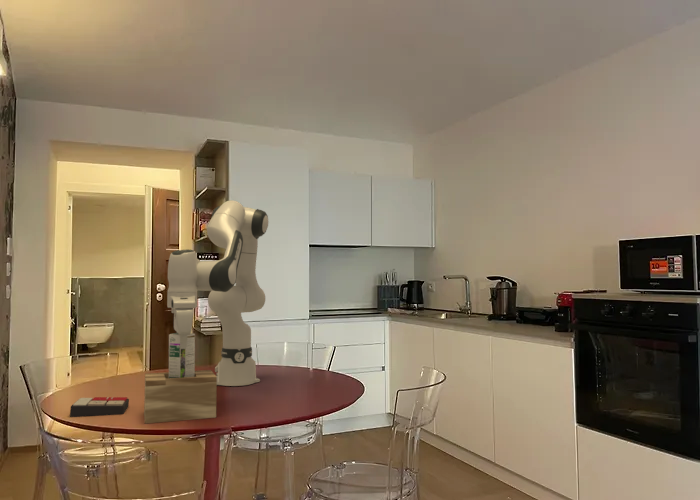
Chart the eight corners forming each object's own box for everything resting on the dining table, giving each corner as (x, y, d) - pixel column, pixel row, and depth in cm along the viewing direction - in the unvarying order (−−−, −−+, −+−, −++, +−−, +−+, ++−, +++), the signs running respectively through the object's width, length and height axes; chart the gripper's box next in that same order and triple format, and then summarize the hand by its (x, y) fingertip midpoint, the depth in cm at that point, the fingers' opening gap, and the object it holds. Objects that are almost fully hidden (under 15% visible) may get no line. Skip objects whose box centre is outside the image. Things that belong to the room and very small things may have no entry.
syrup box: (167, 382, 164) (167, 334, 165) (180, 378, 170) (180, 332, 170) (183, 383, 162) (183, 334, 163) (195, 379, 168) (195, 332, 168)
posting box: (144, 412, 168) (145, 373, 169) (210, 407, 175) (210, 369, 176) (144, 423, 155) (145, 381, 156) (216, 417, 162) (216, 376, 163)
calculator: (124, 403, 166) (70, 403, 163) (122, 417, 166) (69, 418, 162) (129, 396, 177) (79, 396, 173) (128, 409, 177) (78, 409, 173)
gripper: (169, 301, 176) (168, 344, 175) (173, 302, 157) (173, 351, 156) (189, 300, 178) (189, 343, 177) (196, 302, 159) (195, 350, 158)
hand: (181, 347), depth 166 cm, fingers closed on syrup box, 8 cm apart
